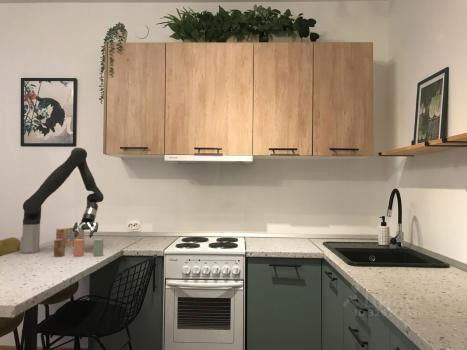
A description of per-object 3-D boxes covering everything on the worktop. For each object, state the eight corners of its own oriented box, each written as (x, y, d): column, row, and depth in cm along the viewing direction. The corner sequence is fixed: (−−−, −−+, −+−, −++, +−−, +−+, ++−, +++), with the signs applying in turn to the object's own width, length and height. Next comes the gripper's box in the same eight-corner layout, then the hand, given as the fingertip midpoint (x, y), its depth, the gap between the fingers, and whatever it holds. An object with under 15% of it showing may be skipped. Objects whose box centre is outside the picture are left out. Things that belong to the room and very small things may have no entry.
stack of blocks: (76, 241, 237) (77, 225, 237) (84, 242, 236) (84, 225, 236) (55, 246, 216) (56, 228, 216) (63, 247, 215) (64, 228, 215)
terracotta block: (73, 256, 186) (74, 240, 187) (76, 255, 191) (76, 239, 191) (81, 256, 187) (81, 240, 187) (83, 254, 191) (84, 239, 192)
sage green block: (93, 256, 188) (93, 240, 188) (95, 254, 192) (95, 239, 193) (100, 256, 188) (101, 240, 189) (102, 254, 193) (103, 238, 193)
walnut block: (53, 256, 185) (54, 240, 185) (56, 255, 189) (57, 239, 190) (61, 256, 186) (62, 240, 186) (64, 255, 190) (65, 239, 190)
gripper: (76, 212, 203) (69, 233, 192) (99, 212, 205) (93, 233, 194) (79, 220, 209) (72, 240, 197) (101, 220, 210) (96, 240, 199)
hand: (82, 236), depth 195 cm, fingers open, 8 cm apart
